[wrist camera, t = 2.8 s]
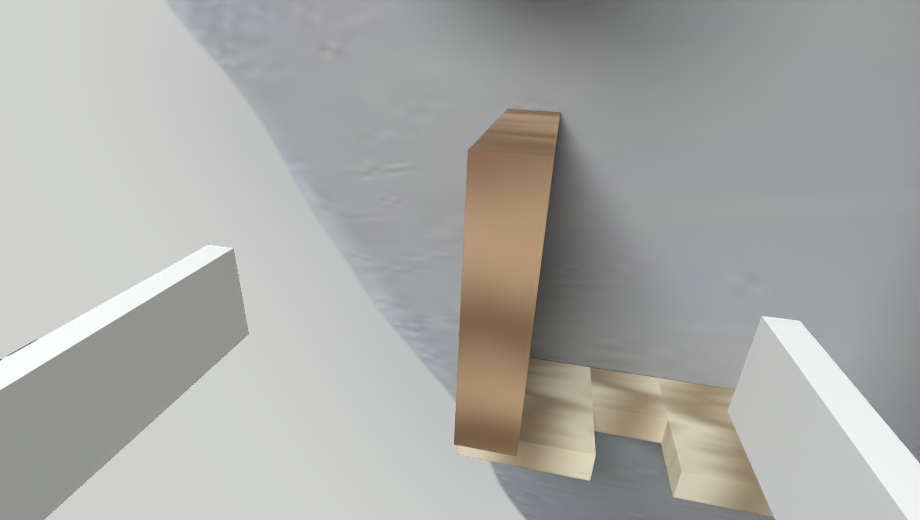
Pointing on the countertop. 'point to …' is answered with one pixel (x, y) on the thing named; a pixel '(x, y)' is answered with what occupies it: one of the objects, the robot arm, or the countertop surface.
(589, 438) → the maple plate
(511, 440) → the brown wooden board
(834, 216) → the countertop surface
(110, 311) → the robot arm
